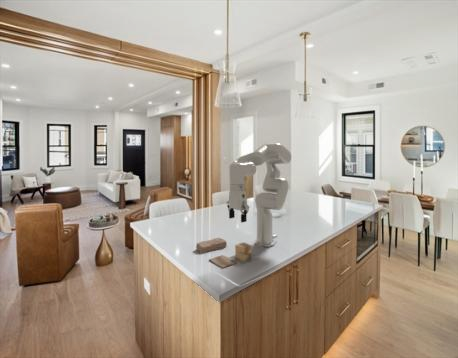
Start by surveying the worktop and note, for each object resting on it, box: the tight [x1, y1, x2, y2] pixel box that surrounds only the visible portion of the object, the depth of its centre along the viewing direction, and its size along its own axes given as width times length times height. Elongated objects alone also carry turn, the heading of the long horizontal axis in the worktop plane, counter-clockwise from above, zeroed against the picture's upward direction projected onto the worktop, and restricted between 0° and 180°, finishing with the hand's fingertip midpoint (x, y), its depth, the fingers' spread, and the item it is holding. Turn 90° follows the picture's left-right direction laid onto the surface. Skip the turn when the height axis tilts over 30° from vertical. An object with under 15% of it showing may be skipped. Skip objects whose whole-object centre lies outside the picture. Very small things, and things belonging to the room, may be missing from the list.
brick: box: [195, 237, 228, 254], centre depth 151 cm, size 17×8×5 cm, turn 123°
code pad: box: [228, 255, 259, 265], centre depth 136 cm, size 11×11×1 cm
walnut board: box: [208, 254, 238, 269], centre depth 131 cm, size 9×12×1 cm
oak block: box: [234, 241, 253, 261], centre depth 136 cm, size 6×6×7 cm
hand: (237, 219), depth 133 cm, fingers open, 9 cm apart
